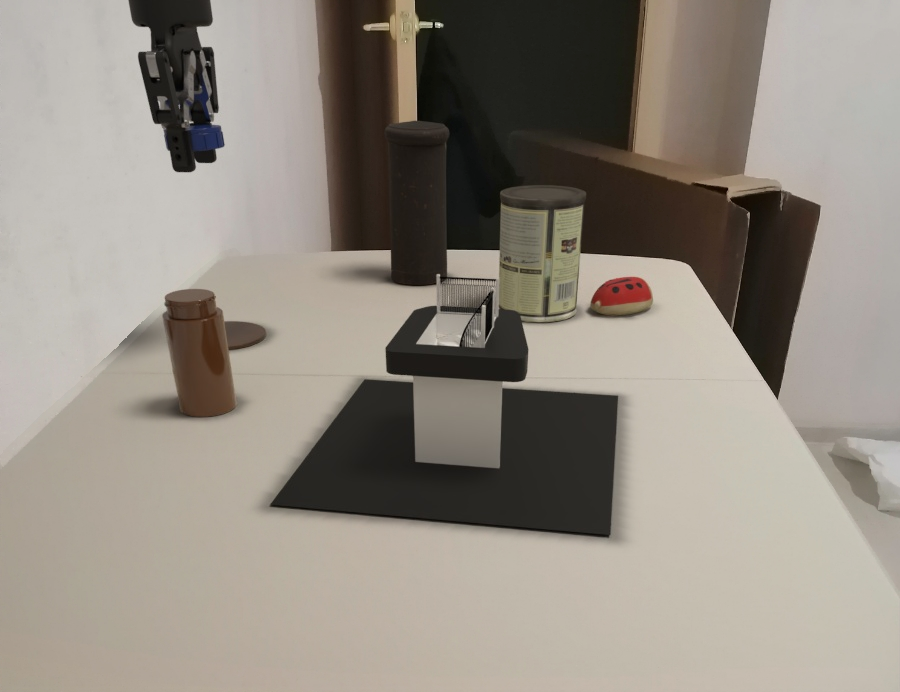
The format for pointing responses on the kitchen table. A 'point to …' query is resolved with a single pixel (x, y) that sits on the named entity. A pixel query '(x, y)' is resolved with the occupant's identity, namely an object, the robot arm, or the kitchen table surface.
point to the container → (417, 201)
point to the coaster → (243, 334)
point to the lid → (203, 137)
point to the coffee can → (540, 251)
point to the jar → (199, 353)
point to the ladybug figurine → (622, 296)
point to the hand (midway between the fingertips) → (195, 166)
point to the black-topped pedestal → (464, 432)
